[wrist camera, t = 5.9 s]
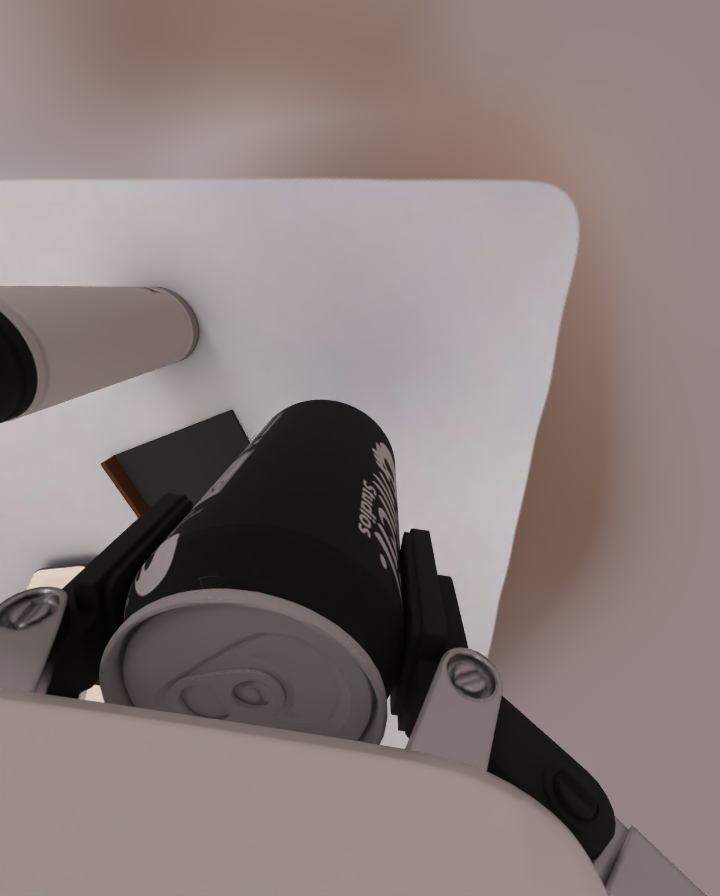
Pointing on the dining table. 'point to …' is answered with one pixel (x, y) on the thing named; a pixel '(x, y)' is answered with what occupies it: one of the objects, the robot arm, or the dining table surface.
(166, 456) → the corner mat
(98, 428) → the dining table surface
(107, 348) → the travel mug
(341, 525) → the beverage can
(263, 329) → the dining table surface
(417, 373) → the dining table surface
